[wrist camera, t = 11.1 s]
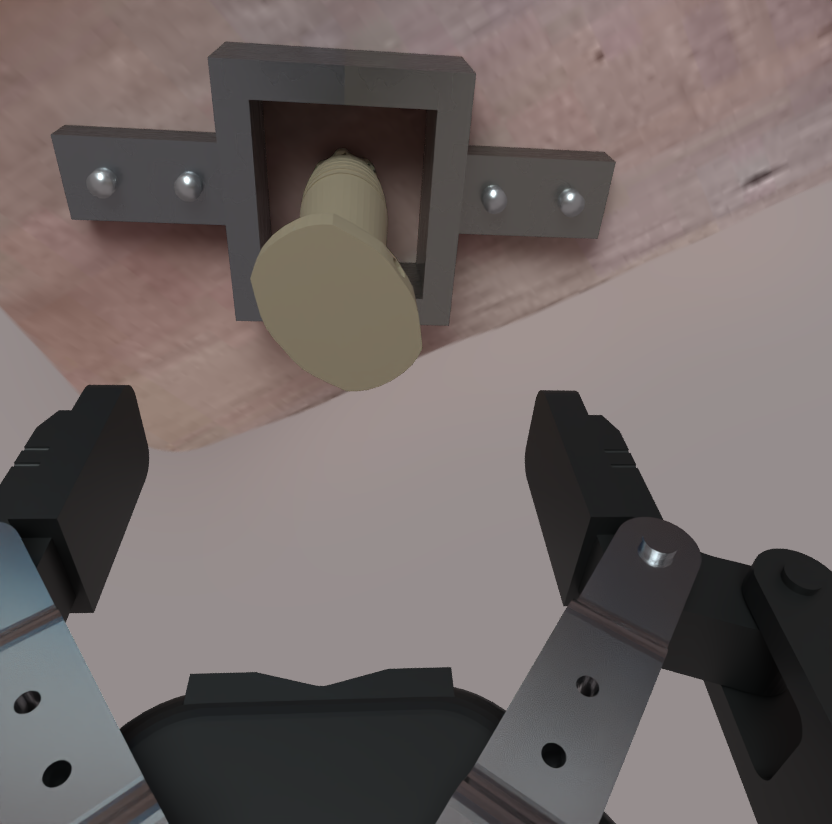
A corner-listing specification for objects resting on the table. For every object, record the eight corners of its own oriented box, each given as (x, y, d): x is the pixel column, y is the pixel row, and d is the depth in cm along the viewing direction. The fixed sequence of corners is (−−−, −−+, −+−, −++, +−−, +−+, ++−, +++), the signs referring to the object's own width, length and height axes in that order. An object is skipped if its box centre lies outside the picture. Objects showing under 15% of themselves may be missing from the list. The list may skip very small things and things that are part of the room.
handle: (348, 94, 32) (343, 196, 20) (417, 204, 35) (449, 348, 23) (269, 150, 33) (220, 278, 21) (343, 251, 37) (337, 410, 25)
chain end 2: (345, 285, 38) (344, 323, 34) (345, 49, 31) (344, 65, 27) (573, 291, 39) (595, 328, 35) (624, 67, 32) (658, 84, 28)
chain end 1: (100, 278, 36) (72, 317, 33) (42, 30, 29) (-2, 44, 26) (345, 285, 38) (344, 323, 34) (345, 49, 31) (344, 65, 27)
